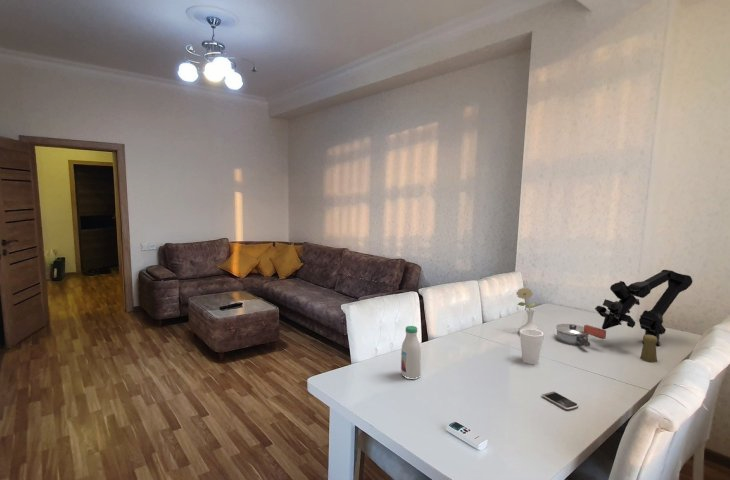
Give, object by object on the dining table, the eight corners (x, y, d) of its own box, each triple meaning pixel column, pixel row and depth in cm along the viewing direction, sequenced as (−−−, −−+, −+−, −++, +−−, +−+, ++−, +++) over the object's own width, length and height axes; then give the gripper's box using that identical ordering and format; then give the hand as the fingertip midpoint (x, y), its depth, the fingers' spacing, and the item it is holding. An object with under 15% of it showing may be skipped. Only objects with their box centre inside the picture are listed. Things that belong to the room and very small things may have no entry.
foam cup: (542, 359, 169) (543, 330, 168) (542, 367, 161) (543, 337, 159) (519, 355, 173) (520, 327, 172) (518, 363, 165) (519, 334, 163)
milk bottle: (422, 373, 155) (422, 325, 153) (418, 381, 148) (419, 331, 146) (403, 370, 158) (404, 323, 156) (399, 378, 151) (399, 329, 149)
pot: (549, 333, 202) (550, 324, 201) (577, 334, 201) (577, 325, 200) (571, 351, 177) (571, 341, 177) (602, 352, 176) (603, 342, 176)
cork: (660, 362, 165) (662, 338, 164) (644, 361, 167) (646, 337, 165) (652, 357, 171) (654, 333, 170) (637, 356, 172) (639, 332, 171)
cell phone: (567, 413, 127) (567, 409, 127) (539, 397, 137) (540, 393, 137) (579, 409, 130) (580, 405, 129) (552, 394, 140) (552, 390, 139)
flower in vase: (542, 333, 201) (545, 287, 199) (539, 340, 192) (541, 291, 189) (516, 329, 208) (518, 284, 206) (512, 335, 199) (514, 288, 196)
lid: (549, 328, 195) (550, 319, 194) (569, 324, 201) (569, 315, 200) (594, 343, 174) (594, 333, 173) (614, 338, 180) (614, 328, 180)
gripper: (599, 289, 190) (578, 312, 189) (632, 298, 172) (609, 324, 171) (611, 304, 192) (591, 326, 191) (645, 315, 174) (622, 340, 173)
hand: (602, 328), depth 182 cm, fingers closed
